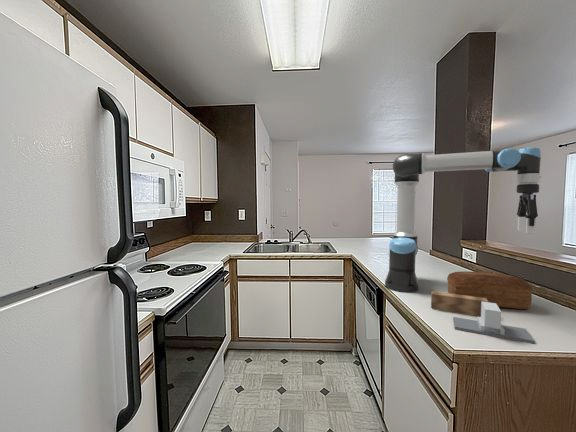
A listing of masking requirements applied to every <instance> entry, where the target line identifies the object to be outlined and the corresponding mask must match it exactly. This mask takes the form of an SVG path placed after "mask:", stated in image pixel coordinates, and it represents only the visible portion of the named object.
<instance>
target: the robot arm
mask: <svg viewBox="0 0 576 432" xmlns="http://www.w3.org/2000/svg"><path fill="white" fill-rule="evenodd" d="M541 152H542V151H541V149H540V148H539V147H534V146H533V147H524V148H520V149H518V150H517V149H516V148H512V147H510V148H505V149H502V150H498V149H497V150H485V151H484V150H483V151H473V152H472V151H471V152H470V151H469V152H456V153H454V152H453V153H441V154H425V153H423V152H422V153H419V152H418V153H403V154H400V155H398V156H397V157H396V158H395V159H394V160H393V163H392V171H393V173H394V184H395V185H396V186H397V190H396V191H397V192H396V193H397V196H396V197H397V199H396V202H397V203H396V231H395V233H393V238H391V240H390V241H389V245H388V248H389V252H388V253H389V254H388V255H389V256H388V257H389V258H388V259H389V260H388V261H389V262H388V265H389V267H388V272H387V274H386V278H385V280H384V287H386V288H387V289H389V290H393V291H397V292H402V293H403V292H405V293H412V292H413V293H414V292H418V291H419V289H420V288H419V287H420V285H419V284H420V283H419V280H418V278H417V274H416V256H417V255H418V252H419V248H418V235H417V233H415V221H416V220H415V219H416V214H415V213H416V186H417V185H418V184H419V183H420V175H424V174H425V173H430V172H431V173H432V172H453V171H471V170H472V171H476V170H485V172H487V173H492V172H493V173H495V172H497V173H498V172H512V171H513V172H517V173H516V194H520V195H519V201H518V207H517V210H516V211H517V213H516V215H517V216H518V218H517V231H518V232H525V234H527V235H535V234H536V221H537V220H536V219H537V217H539V215H538V207H537V195H536V194H538V193H540V184H539V183H540V179H541V178H542V176H541V175H540V174H541V173H540V172H541V159H542V157H541Z"/></svg>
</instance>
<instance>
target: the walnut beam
mask: <svg viewBox="0 0 576 432" xmlns="http://www.w3.org/2000/svg"><path fill="white" fill-rule="evenodd" d="M430 294H431V300H430V309H431V308H432V309H431V310H437V309H438V310H439V311H444V312H450V313H456V314H457V313H458V314H461V315H462V314H463V315H469V316H470V315H471V316H475V317H481V301H482V302H488V300H487V299H486V298H481V297H473V296H466V295H458V294H450V293H448V292H441V291H433V290H432V291H431V293H430Z"/></svg>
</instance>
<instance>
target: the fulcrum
mask: <svg viewBox="0 0 576 432" xmlns="http://www.w3.org/2000/svg"><path fill="white" fill-rule="evenodd" d="M476 317H477V318H476V319H469V318H464V317H463V318H462V317H458V316H457V317H456V316H452V320H453V321H452V322H453V327H454V330H457V331H458V330H459V331H463V332H469V333H473V334H479V335H485V336H491V337H496V338H501V339H507V340H513V341H518V342H525V343H529V344H535V343H536V341H535V340H534V338H533V337H532V336H531V334H530V333H529V331H528V329H526V328H524V327H518V326H511V325H506V324H502V311H501V309H500V307H498V306H497V304H496V303H490V302H482V301H481V316H476Z"/></svg>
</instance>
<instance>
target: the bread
mask: <svg viewBox="0 0 576 432" xmlns="http://www.w3.org/2000/svg"><path fill="white" fill-rule="evenodd" d="M446 280H447V293H450V294H458V295H466V296H473V297H481V298H486V299H487V300H488V302H490V303H496V304H497V306H498V307H499V308H511V309H516V310H528V309H531V308H530V307H531V305H532V300H533V298H532V296H533V288H532V286H531V284H529V282H527V281H526V280H525V279H523V278H521V277H518V276H515V275H511V274H504V273H498V272H489V271H454V272H451V273H450V272H449V274H448V275H447V277H446Z"/></svg>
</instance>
